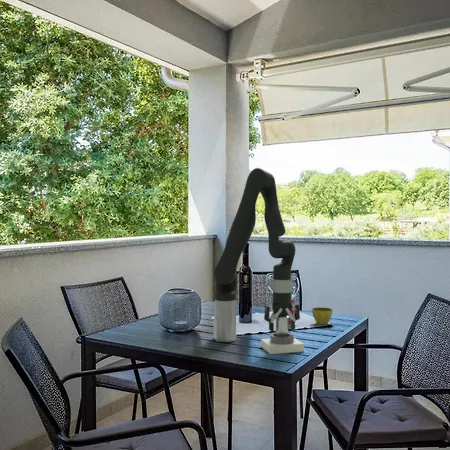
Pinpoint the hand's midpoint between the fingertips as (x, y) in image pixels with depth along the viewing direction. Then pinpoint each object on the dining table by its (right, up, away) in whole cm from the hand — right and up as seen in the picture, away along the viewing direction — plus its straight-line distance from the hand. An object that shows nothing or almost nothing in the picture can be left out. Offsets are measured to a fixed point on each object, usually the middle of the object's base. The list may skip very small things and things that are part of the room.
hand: (282, 331), depth 188 cm
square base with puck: (0, -7, 0) cm, 7 cm away
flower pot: (+25, -7, +45) cm, 52 cm away
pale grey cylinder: (0, -4, 0) cm, 4 cm away
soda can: (+8, -7, +46) cm, 47 cm away
